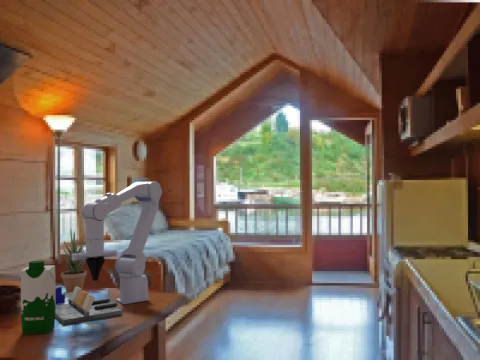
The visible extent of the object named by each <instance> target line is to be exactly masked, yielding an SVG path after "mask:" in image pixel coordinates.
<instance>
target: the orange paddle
mask: <svg viewBox="0 0 480 360" xmlns="http://www.w3.org/2000/svg"><path fill="white" fill-rule="evenodd" d="M88 294H89V292H87V291H85V290H83V289H82V290H81V292H80V295H79V297H78V299H77V301H76V304H78V305H79V306H83V304H84V302H85V300H86V297H87V295H88Z"/></svg>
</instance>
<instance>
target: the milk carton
mask: <svg viewBox="0 0 480 360" xmlns="http://www.w3.org/2000/svg"><path fill="white" fill-rule="evenodd" d="M55 287H56V265H45V261H44V260H31V261H29V262H28V266H27V267H24V268H23V269H21V270H20V317H21V318H20V320H21V331H22V335H35V334H49V333H50V332H51V330H52V329H53V328H54V327H55V322H56V320H55V319H56V317H55V309H56V294H55Z"/></svg>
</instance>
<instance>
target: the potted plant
mask: <svg viewBox="0 0 480 360" xmlns="http://www.w3.org/2000/svg"><path fill="white" fill-rule="evenodd" d="M84 242H85V241H82V243H81V245H80V247H79V248H78V239H76V232H75V231H73V233H72V230H70V245H71V246H70V247H69V246H68V244H67V243H66V240H63V243H64V246H65V248H66V250H67V251H66V250H65V249H63V251H64V253H62V255H63V258H64V259H65V261H64V264H65V265H64V267H65V268H66V270H67V271H63V272H61V273H60V278H61V279H62V281H63V283H64V288H65V291H66V293H73V291H74V289H75V286H76V287H79V288H81V289H82V290H83V288H84V284H85V280H86V276H87V275H88V273H87V270H82V268H83V267H84V264H86V261H85V259H81V260H75V261H73V260H72V254H76V253H83V252H85V249H84Z"/></svg>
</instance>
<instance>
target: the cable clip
mask: <svg viewBox="0 0 480 360" xmlns="http://www.w3.org/2000/svg"><path fill="white" fill-rule="evenodd" d="M62 289H63V288H62V286H55V294H56V305H62V304H63V303H64V304H65V303H66V294H65V293H62V292H63V290H62Z"/></svg>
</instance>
